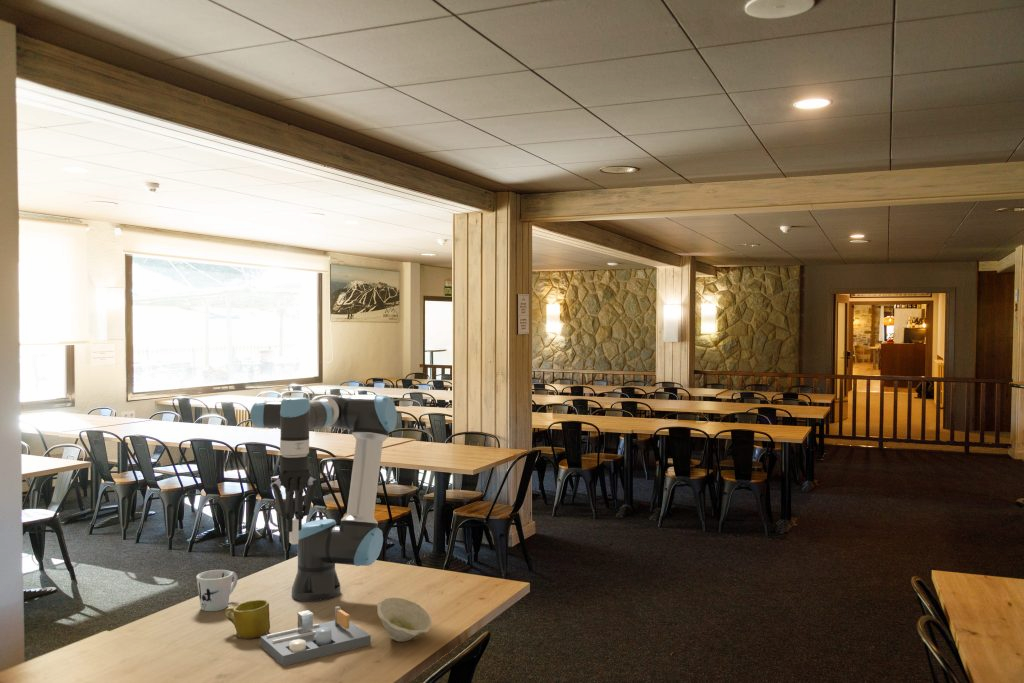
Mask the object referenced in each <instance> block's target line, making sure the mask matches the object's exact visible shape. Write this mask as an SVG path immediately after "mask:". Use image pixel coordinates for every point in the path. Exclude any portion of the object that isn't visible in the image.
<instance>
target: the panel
mask: <svg viewBox="0 0 1024 683" xmlns="http://www.w3.org/2000/svg"><path fill="white" fill-rule="evenodd" d="M323 627H328V628H331V629H332V642H331V644H327V645H323V646H319V645H316V630H317V629H318V628H323ZM298 639H301V640H305V641H306V650H302V651H298V652H293V653H292V652H291V651H290V642H291V641H293V640H298ZM371 640H372V636H371V634H369V633H368V632H367V631H365V630H364V629H362V628H360V627H359V626H357V625H356V624H355V623H353V622H351V621H350V620H349V629H345V628H344V627H342V626H341V625H339V626H336V625H335V619H334V620H331V621H327V622H326V621H325V622H321V623H315V624H314V623H313V631H312V632H307V633H302V634H300V633H299V632H298V627H296V628H292V629H288V630H283V631H279V632H273V633H267V634H265V635H263V636H260V647H261V648H262V649H263V650H265V651H266V652H267V654H269V655H270V656H271V657H272V658H273V659H275V661H277V662H278V663H279V664H280V665H281V666H282V667H285V666H288V665H292V664H296V663H300V662H305V661H309V660H314V659H317V658H321V657H325V656H329V655H334V654H338V653H341V652H342V653H343V652H347V651H350V650H353V649H359V648H363V647H366V646H370V645H372V644H371V642H372V641H371Z"/></svg>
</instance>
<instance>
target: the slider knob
mask: <svg viewBox="0 0 1024 683" xmlns="http://www.w3.org/2000/svg"><path fill="white" fill-rule="evenodd" d="M313 625H314V613H313V612H312V611H310V610H303V611H298V612H297V628H298V632H299V633H300V634H302V633H307V632H312V631H313Z"/></svg>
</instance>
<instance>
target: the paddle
mask: <svg viewBox="0 0 1024 683" xmlns="http://www.w3.org/2000/svg"><path fill="white" fill-rule="evenodd" d="M334 620H335V625H336V626H339V625H341V626H342V627H344V628H345V629H349V621H350V614H349V613H347V612H345V611H344V610H342V609H341V606H335V607H334Z"/></svg>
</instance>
